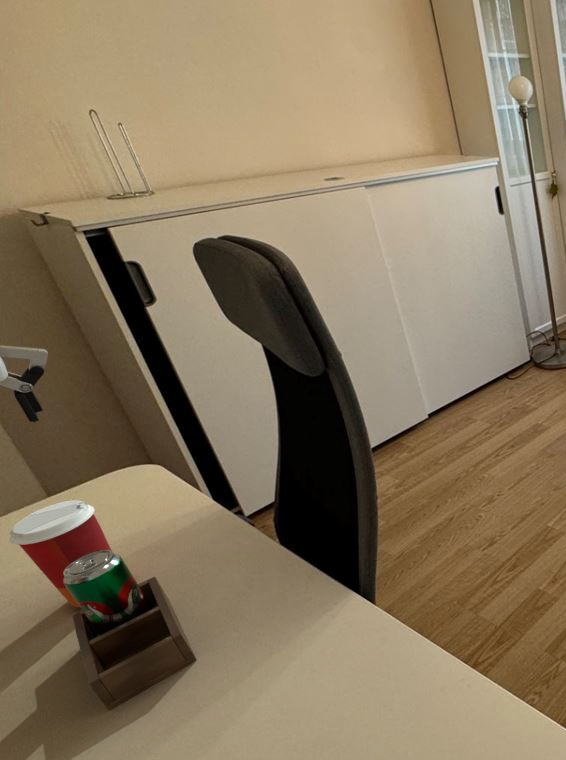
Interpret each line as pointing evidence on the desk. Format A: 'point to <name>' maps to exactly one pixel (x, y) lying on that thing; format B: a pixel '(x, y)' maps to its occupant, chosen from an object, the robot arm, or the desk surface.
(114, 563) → the soda can
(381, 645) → the desk surface
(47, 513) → the paper cup
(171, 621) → the brown wooden divided box
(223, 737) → the desk surface
